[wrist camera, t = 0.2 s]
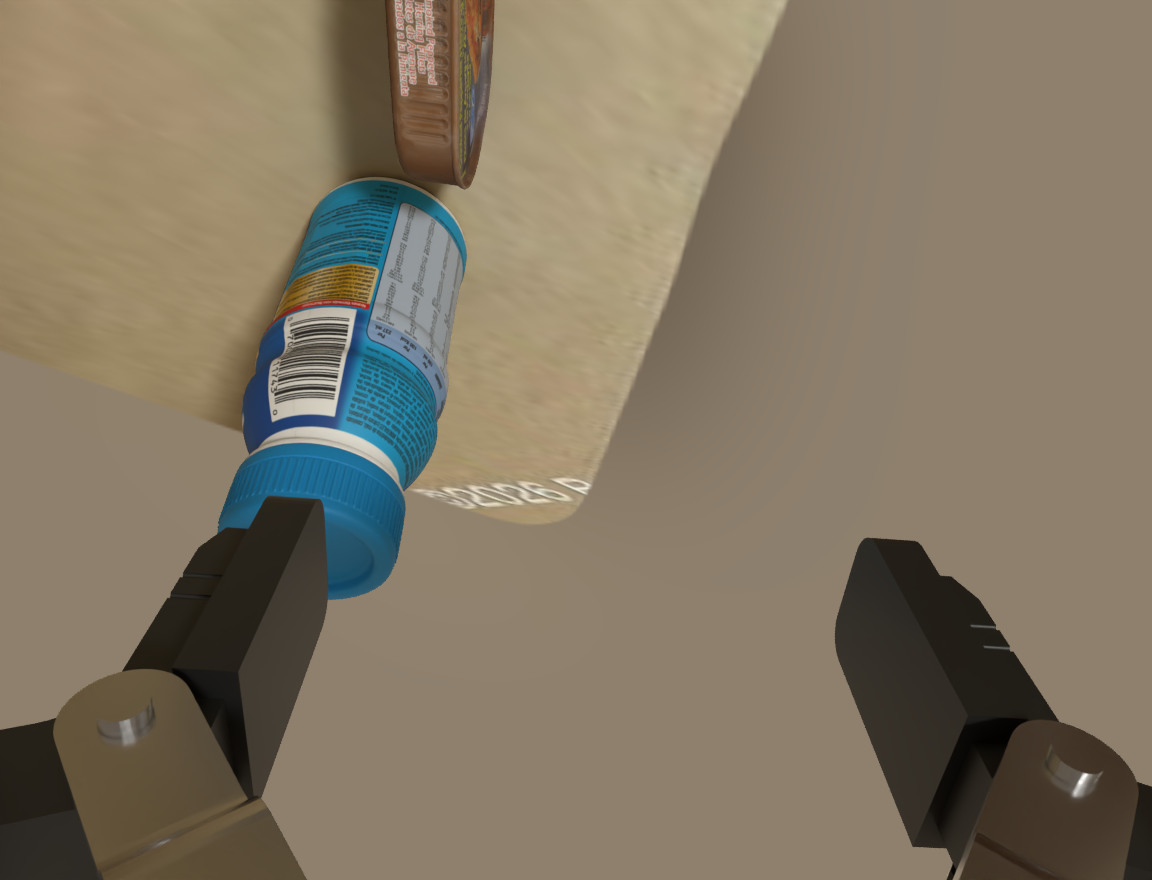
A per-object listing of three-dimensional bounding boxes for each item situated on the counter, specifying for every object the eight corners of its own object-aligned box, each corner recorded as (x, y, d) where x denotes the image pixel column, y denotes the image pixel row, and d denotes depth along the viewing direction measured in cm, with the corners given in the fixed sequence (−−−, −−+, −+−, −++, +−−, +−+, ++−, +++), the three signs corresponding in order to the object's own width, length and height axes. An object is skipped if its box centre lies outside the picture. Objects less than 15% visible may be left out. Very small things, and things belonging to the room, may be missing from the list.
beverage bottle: (499, 219, 45) (455, 540, 32) (430, 323, 51) (369, 634, 37) (343, 138, 42) (222, 458, 29) (287, 259, 47) (165, 574, 34)
